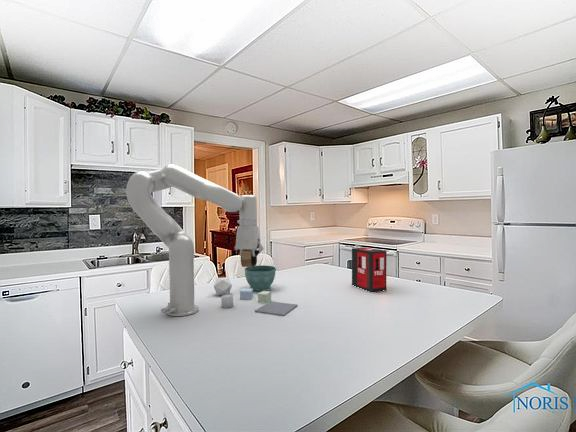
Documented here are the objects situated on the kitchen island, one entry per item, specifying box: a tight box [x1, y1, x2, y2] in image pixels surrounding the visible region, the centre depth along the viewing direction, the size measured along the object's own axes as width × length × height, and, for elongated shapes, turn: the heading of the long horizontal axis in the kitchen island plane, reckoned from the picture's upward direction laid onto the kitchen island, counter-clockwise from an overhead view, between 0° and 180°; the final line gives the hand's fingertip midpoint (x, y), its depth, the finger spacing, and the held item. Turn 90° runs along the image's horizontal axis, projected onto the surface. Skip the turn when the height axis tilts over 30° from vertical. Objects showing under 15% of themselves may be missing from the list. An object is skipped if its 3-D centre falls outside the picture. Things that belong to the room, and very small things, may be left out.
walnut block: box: [241, 250, 257, 268], centre depth 142 cm, size 4×4×7 cm
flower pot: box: [244, 264, 277, 292], centre depth 168 cm, size 16×16×11 cm
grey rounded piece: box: [220, 294, 234, 309], centre depth 139 cm, size 5×5×4 cm
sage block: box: [257, 290, 272, 304], centre depth 147 cm, size 5×4×4 cm
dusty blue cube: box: [239, 288, 254, 301], centre depth 152 cm, size 5×5×4 cm
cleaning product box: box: [351, 246, 387, 293], centre depth 168 cm, size 16×9×20 cm, turn 25°
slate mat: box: [254, 300, 298, 317], centre depth 135 cm, size 14×13×1 cm
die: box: [213, 276, 233, 297], centre depth 158 cm, size 8×9×10 cm
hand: (248, 264), depth 142 cm, fingers closed on walnut block, 4 cm apart
